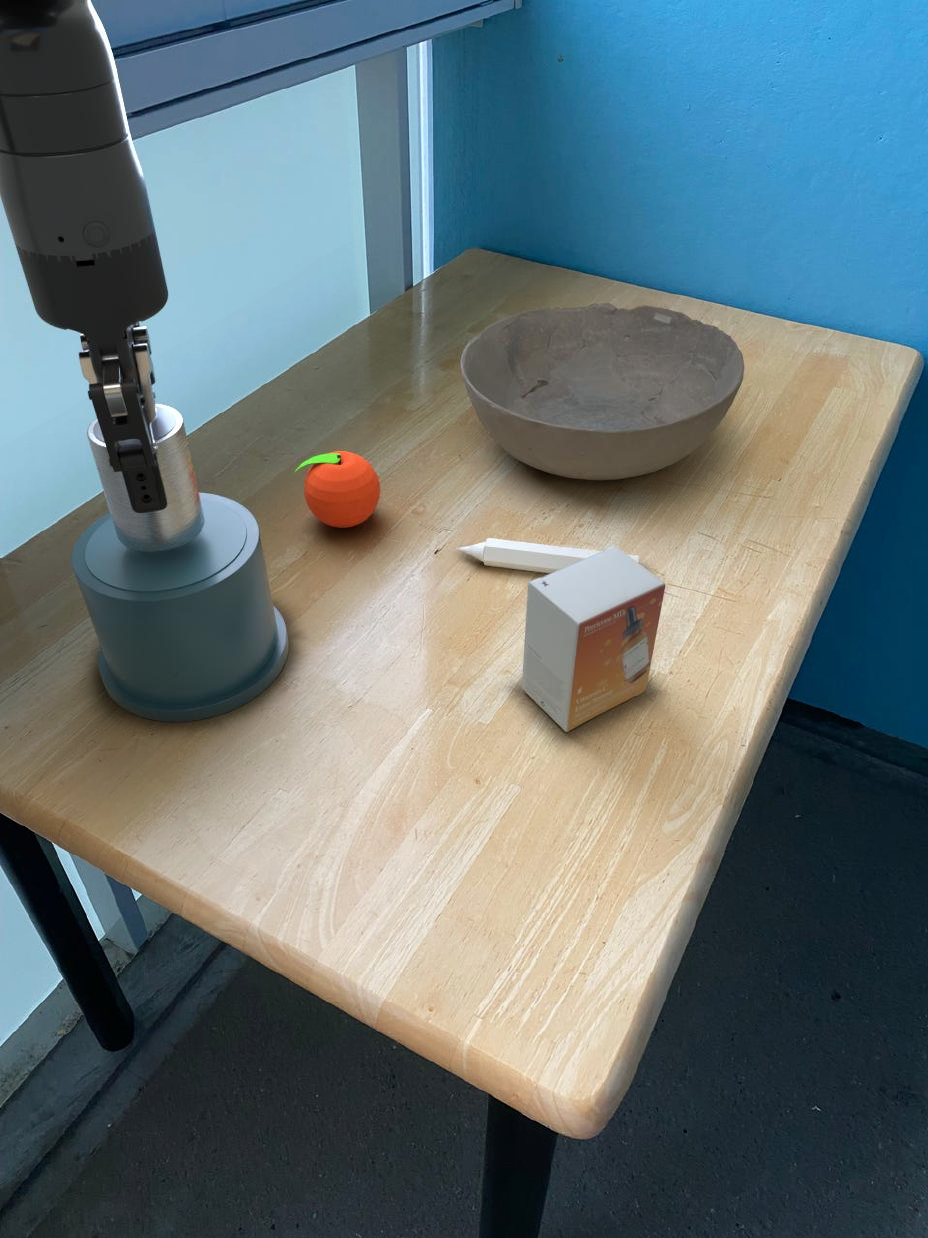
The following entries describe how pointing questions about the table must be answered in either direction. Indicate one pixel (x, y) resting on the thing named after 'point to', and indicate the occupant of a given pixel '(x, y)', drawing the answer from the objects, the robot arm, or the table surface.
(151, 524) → the cup
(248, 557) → the blue flanged cylinder
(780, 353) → the table surface
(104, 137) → the robot arm
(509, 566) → the white pencil
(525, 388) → the bowl
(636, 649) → the small box
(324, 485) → the clementine
